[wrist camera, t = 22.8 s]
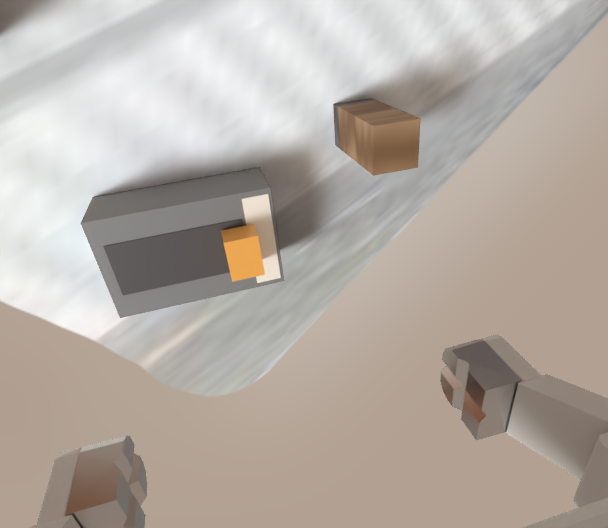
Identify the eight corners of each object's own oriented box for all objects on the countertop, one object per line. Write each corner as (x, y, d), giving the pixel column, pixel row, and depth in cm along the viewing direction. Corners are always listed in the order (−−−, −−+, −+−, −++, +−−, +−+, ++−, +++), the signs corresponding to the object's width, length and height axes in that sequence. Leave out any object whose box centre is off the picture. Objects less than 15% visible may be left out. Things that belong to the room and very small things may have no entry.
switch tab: (220, 230, 38) (223, 242, 36) (253, 223, 38) (258, 235, 36) (229, 268, 40) (232, 281, 38) (260, 261, 41) (264, 274, 38)
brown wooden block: (333, 104, 41) (373, 126, 33) (371, 98, 42) (420, 118, 34) (335, 145, 43) (373, 175, 35) (371, 138, 44) (417, 167, 36)
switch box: (92, 197, 40) (80, 223, 35) (259, 167, 43) (270, 187, 37) (126, 284, 45) (120, 318, 40) (272, 253, 48) (284, 281, 43)
